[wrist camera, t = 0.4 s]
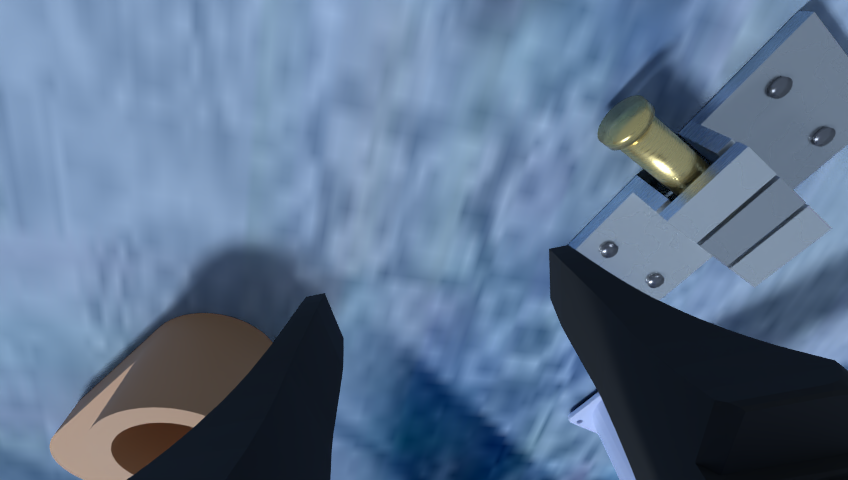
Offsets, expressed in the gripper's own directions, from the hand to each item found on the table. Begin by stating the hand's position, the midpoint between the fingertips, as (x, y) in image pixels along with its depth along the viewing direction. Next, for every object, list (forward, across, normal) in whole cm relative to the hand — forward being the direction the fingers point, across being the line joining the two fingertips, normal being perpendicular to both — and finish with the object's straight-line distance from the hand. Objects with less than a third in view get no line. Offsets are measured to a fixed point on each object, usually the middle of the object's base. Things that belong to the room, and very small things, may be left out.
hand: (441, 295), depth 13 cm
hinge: (+10, -16, +4) cm, 19 cm away
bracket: (+10, +20, +13) cm, 26 cm away
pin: (+10, -13, +2) cm, 17 cm away
